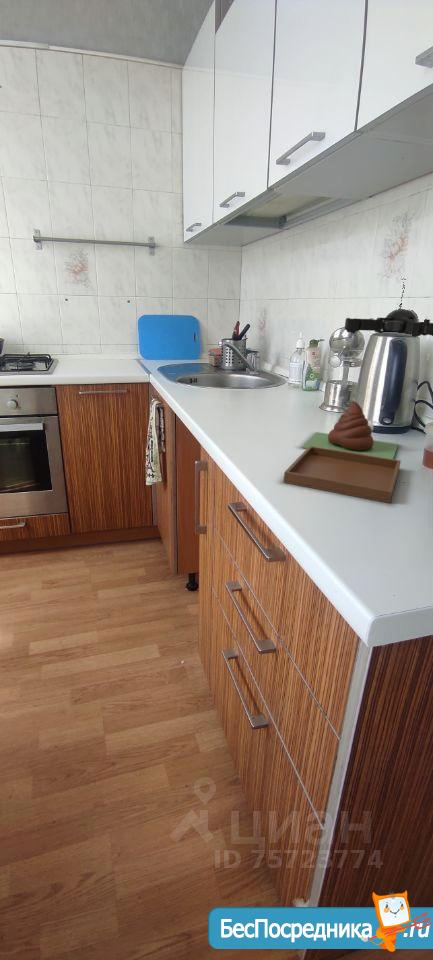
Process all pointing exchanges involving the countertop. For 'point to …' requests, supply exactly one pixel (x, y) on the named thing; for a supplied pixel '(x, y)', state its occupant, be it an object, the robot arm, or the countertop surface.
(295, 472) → the tray
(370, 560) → the countertop surface
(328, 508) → the countertop surface
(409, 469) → the countertop surface
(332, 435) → the poop emoji
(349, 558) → the countertop surface
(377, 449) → the mat
